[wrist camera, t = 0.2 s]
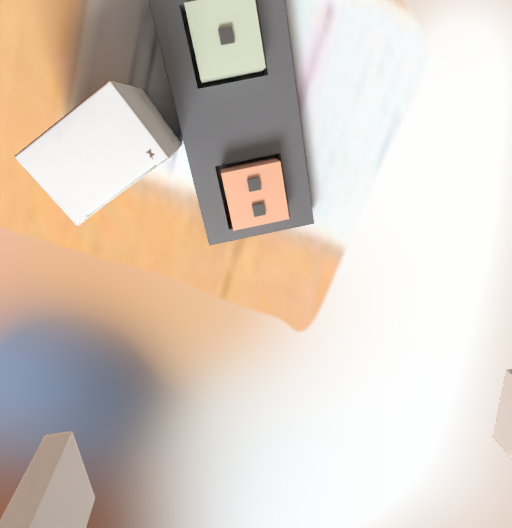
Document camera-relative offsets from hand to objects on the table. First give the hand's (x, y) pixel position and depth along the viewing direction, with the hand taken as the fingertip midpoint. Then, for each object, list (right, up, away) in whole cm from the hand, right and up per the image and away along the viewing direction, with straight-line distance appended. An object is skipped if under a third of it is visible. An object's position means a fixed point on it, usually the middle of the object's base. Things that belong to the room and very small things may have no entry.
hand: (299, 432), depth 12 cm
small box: (-13, +16, +22) cm, 30 cm away
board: (-3, +18, +22) cm, 28 cm away
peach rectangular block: (-2, +12, +24) cm, 27 cm away
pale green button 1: (-4, +23, +20) cm, 31 cm away
